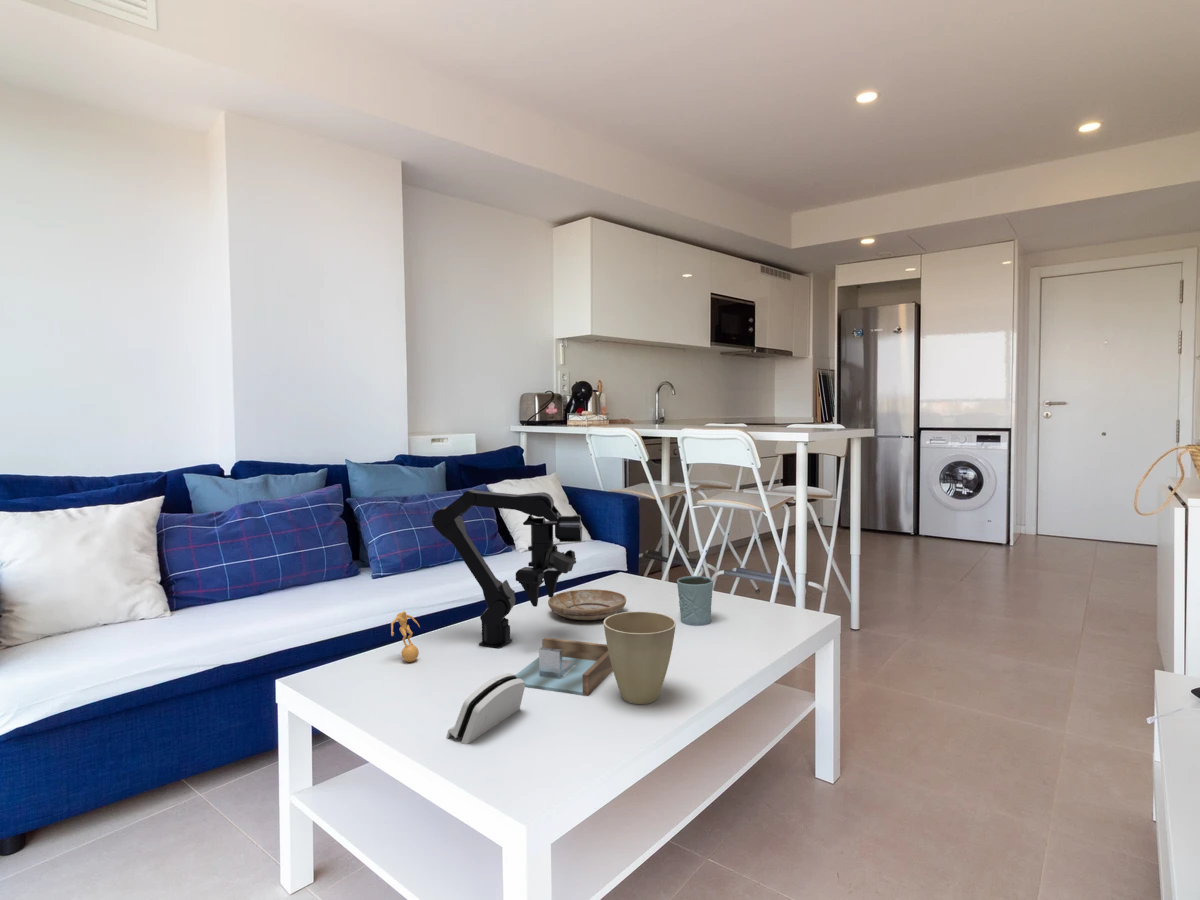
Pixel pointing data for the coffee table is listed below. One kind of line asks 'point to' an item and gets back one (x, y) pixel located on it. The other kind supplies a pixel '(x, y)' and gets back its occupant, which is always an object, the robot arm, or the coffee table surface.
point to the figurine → (409, 650)
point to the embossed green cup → (695, 600)
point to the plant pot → (639, 652)
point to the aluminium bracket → (553, 663)
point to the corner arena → (580, 678)
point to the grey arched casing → (488, 707)
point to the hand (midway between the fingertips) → (543, 601)
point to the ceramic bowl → (587, 604)
